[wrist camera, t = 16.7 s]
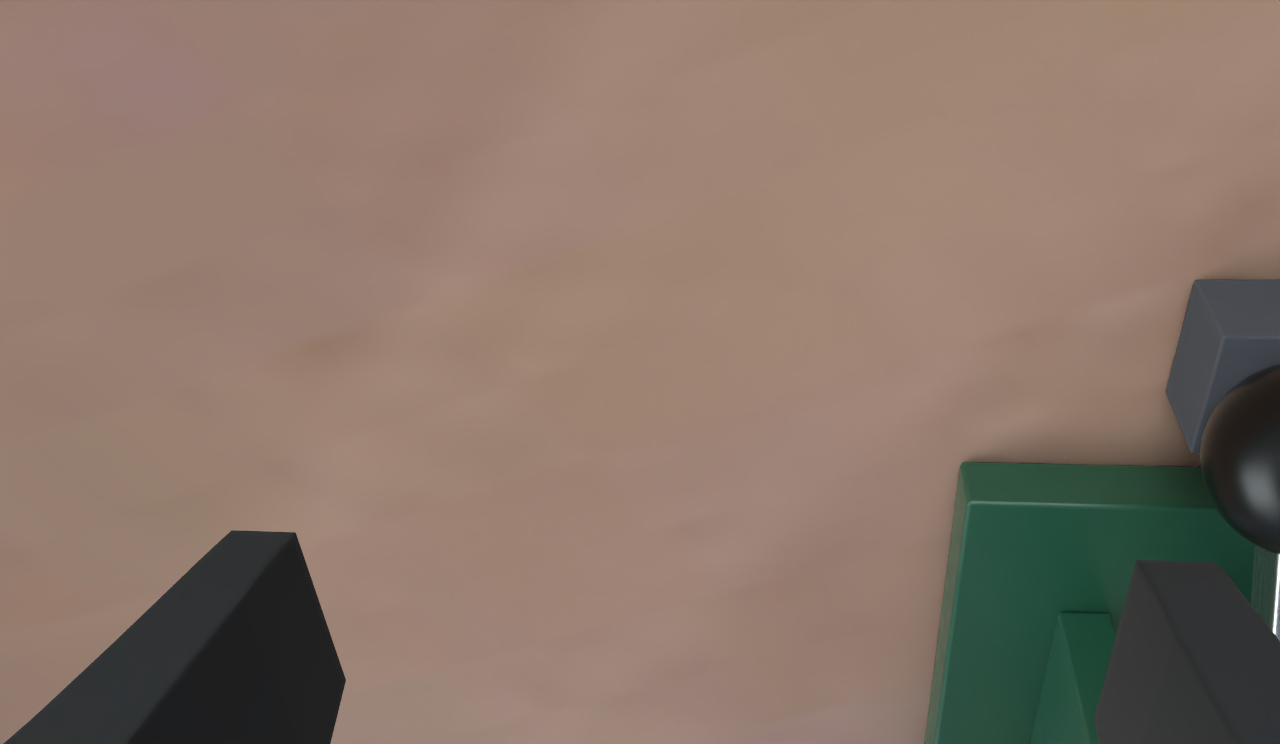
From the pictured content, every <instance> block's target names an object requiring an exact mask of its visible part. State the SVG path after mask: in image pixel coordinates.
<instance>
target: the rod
mask: <svg viewBox="0 0 1280 744" xmlns="http://www.w3.org/2000/svg"><path fill="white" fill-rule="evenodd" d="M1200 468H1201V475H1202V479H1203V482H1204V486H1205V489H1206V491H1207V493H1208V495H1209V497H1210V499H1211V501H1212V503H1213V505H1214V506H1215V508H1216V510H1217V511H1218V513H1219V514H1220V515H1221V516H1222V517H1223V519H1224V520H1225V521H1226V522H1227V523H1228V524H1229V525H1230V526H1231V527H1232V528H1233V529H1234V530H1235V531H1236V532H1238V533H1239V534H1240V535H1241V536H1242V537H1244V538H1245V539H1247V540H1248V541H1250V542H1251V543H1253V544H1255V549H1254V562H1253V576H1252V590H1251V605H1252V606H1253V608H1254V609H1255V610H1256V612H1257V613H1258V614H1259V615H1260V617H1261V618H1262V619H1263V620H1264V622H1265V623H1266V624H1267V625H1268V627H1269V628H1270V629H1271V630H1272V632H1273V633H1274V634H1275V635H1276V637H1277V638H1278V639H1279V640H1280V364H1278V365H1275V366H1271V367H1268V368H1266V369H1263V370H1261V371H1259V372H1256V373H1254V374H1253V375H1251V376H1249V377H1248V378H1246V379H1244V380H1243V381H1241V382H1240V383H1239V384H1237V385H1236V386H1235V387H1233V388H1232V389H1231V390H1230V391H1229V392H1228V393H1227V394H1226V395H1225V396H1224V397H1223V398H1222V399H1221V400H1220V402H1219V403H1218V404H1217V405H1216V407H1215V408H1214V410H1213V412H1212V413H1211V415H1210V417H1209V419H1208V421H1207V424H1206V426H1205V429H1204V432H1203V436H1202V440H1201V447H1200Z"/></svg>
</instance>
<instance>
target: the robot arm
mask: <svg viewBox="0 0 1280 744" xmlns="http://www.w3.org/2000/svg"><path fill="white" fill-rule="evenodd" d="M345 681H346V679H345V676H344V673H343V671H342V668H341V665H340V662H339V659H338V656H337V653H336V650H335V647H334V644H333V641H332V638H331V635H330V632H329V629H328V627H327V624H326V621H325V618H324V615H323V612H322V609H321V606H320V603H319V600H318V597H317V594H316V591H315V588H314V585H313V583H312V580H311V577H310V574H309V571H308V568H307V565H306V562H305V559H304V556H303V553H302V550H301V547H300V544H299V541H298V539H297V536H296V533H291V532H260V531H231V532H230V533H229V534H227V535H226V536H225V537H224V538H223V539H222V540H221V541H220V542H219V543H218V544H216V545H215V546H214V547H213V548H212V549H211V550H210V551H209V552H208V553H207V554H206V555H205V556H204V557H203V558H201V559H200V560H199V561H198V562H197V563H196V564H195V565H194V566H193V567H192V568H191V569H190V570H189V571H188V572H187V573H186V574H185V575H184V576H183V577H182V578H181V579H180V580H178V581H177V582H176V583H175V584H174V585H173V586H172V587H171V588H170V589H169V590H168V591H167V592H166V593H165V594H164V595H163V596H162V597H161V598H160V599H159V600H158V601H157V602H156V603H155V604H154V605H153V606H152V607H151V608H149V609H148V610H147V611H146V612H145V613H144V614H143V615H142V616H141V617H140V618H139V619H138V620H137V621H136V622H135V623H134V624H133V625H132V626H131V627H130V628H129V629H128V630H127V631H125V632H124V633H123V634H122V635H121V636H120V637H119V638H118V639H117V640H116V641H115V642H114V643H113V644H112V645H111V646H110V647H109V648H108V649H107V650H105V651H104V652H103V653H102V654H101V655H100V656H99V657H98V658H97V659H96V660H95V661H94V662H93V663H92V664H90V665H89V666H88V667H87V668H86V669H85V670H84V671H83V672H82V673H81V674H80V675H79V676H78V677H77V678H75V679H74V680H73V681H72V682H71V683H70V684H69V685H68V686H67V687H66V688H65V689H64V690H63V691H62V692H61V693H59V694H58V695H57V696H56V697H55V698H54V699H53V700H52V701H51V702H50V703H49V704H48V705H47V706H45V707H44V708H43V709H42V710H41V711H40V712H39V713H38V714H37V715H36V716H35V717H34V718H32V719H31V720H30V721H29V722H28V723H27V724H26V725H25V726H23V727H22V728H21V729H20V730H19V731H18V732H16V733H15V734H14V735H13V736H12V737H11V738H10V739H8V740H7V741H6V742H5V743H4V744H330V742H331V738H332V734H333V730H334V726H335V722H336V718H337V714H338V710H339V706H340V702H341V698H342V693H343V689H344V685H345ZM1094 718H1095V725H1096V732H1097V739H1098V744H1280V640H1279V639H1278V638H1277V637H1276V635H1275V634H1274V633H1273V632H1272V630H1271V629H1270V628H1269V627H1268V625H1267V624H1266V623H1265V622H1264V620H1263V619H1262V618H1261V617H1260V615H1259V614H1258V613H1257V612H1256V610H1255V609H1254V608H1253V606H1252V605H1251V604H1250V603H1249V601H1248V600H1247V599H1246V598H1245V596H1244V595H1243V594H1242V593H1241V591H1240V590H1239V589H1238V588H1237V586H1236V585H1235V584H1234V583H1233V581H1232V580H1231V579H1230V578H1229V576H1228V575H1227V574H1226V573H1225V572H1224V571H1223V570H1222V569H1221V568H1220V567H1219V566H1218V565H1217V564H1216V562H1188V561H1157V560H1136V563H1135V566H1134V570H1133V574H1132V578H1131V581H1130V585H1129V589H1128V593H1127V596H1126V600H1125V604H1124V608H1123V611H1122V615H1121V619H1120V623H1119V626H1118V630H1117V634H1116V638H1115V641H1114V645H1113V649H1112V653H1111V656H1110V660H1109V664H1108V668H1107V671H1106V675H1105V679H1104V683H1103V686H1102V690H1101V694H1100V698H1099V702H1098V705H1097V709H1096V713H1095V717H1094Z"/></svg>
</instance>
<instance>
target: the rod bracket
mask: <svg viewBox="0 0 1280 744" xmlns="http://www.w3.org/2000/svg"><path fill="white" fill-rule="evenodd" d="M1254 549H1255V544H1253V543H1251V542H1250V541H1248V540H1247V539H1245V538H1244V537H1242V536H1241V535H1240V534H1239V533H1238V532H1236V531H1235V530H1234V529H1233V528H1232V527H1231V526H1230V525H1229V524H1228V523H1227V522H1226V521H1225V520H1224V519H1223V517H1222V516H1221V515H1220V514H1219V513H1218V511H1217V510H1216V508H1215V506H1214V505H1213V503H1212V501H1211V499H1210V497H1209V495H1208V493H1207V491H1206V489H1205V486H1204V482H1203V479H1202V475H1201V468H1200V467H1169V466H1124V465H1079V464H1033V463H988V462H964V463H962V464H961V466H960V471H959V479H958V486H957V494H956V502H955V510H954V517H953V525H952V533H951V541H950V548H949V556H948V564H947V572H946V580H945V587H944V595H943V603H942V611H941V618H940V626H939V634H938V642H937V649H936V657H935V665H934V673H933V680H932V688H931V696H930V704H929V711H928V719H927V727H926V735H925V742H924V744H1098V739H1097V732H1096V725H1095V718H1094V717H1095V713H1096V709H1097V705H1098V702H1099V698H1100V694H1101V690H1102V686H1103V683H1104V679H1105V675H1106V671H1107V668H1108V664H1109V660H1110V656H1111V653H1112V649H1113V645H1114V641H1115V638H1116V634H1117V630H1118V626H1119V623H1120V619H1121V615H1122V611H1123V608H1124V604H1125V600H1126V596H1127V593H1128V589H1129V585H1130V581H1131V578H1132V574H1133V570H1134V566H1135V563H1136V560H1157V561H1188V562H1216V564H1217V565H1218V566H1219V567H1220V568H1221V569H1222V570H1223V571H1224V572H1225V573H1226V574H1227V575H1228V576H1229V578H1230V579H1231V580H1232V581H1233V583H1234V584H1235V585H1236V586H1237V588H1238V589H1239V590H1240V591H1241V593H1242V594H1243V595H1244V596H1245V598H1246V599H1247V600H1248V601H1249V603H1250V604H1251V590H1252V576H1253V562H1254Z"/></svg>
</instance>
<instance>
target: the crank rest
mask: <svg viewBox="0 0 1280 744" xmlns="http://www.w3.org/2000/svg"><path fill="white" fill-rule="evenodd" d="M1278 364H1280V280H1195V281H1194V283H1193V287H1192V291H1191V295H1190V299H1189V303H1188V307H1187V311H1186V315H1185V319H1184V322H1183V326H1182V330H1181V334H1180V338H1179V342H1178V346H1177V350H1176V354H1175V357H1174V361H1173V365H1172V369H1171V373H1170V377H1169V381H1168V385H1167V389H1166V394H1167V396H1168V399H1169V401H1170V404H1171V406H1172V409H1173V411H1174V413H1175V416H1176V418H1177V421H1178V423H1179V426H1180V428H1181V431H1182V433H1183V435H1184V438H1185V440H1186V443H1187V445H1188V448H1189V450H1190V452H1192V453H1200V447H1201V440H1202V436H1203V432H1204V429H1205V426H1206V424H1207V421H1208V419H1209V417H1210V415H1211V413H1212V412H1213V410H1214V408H1215V407H1216V405H1217V404H1218V403H1219V402H1220V400H1221V399H1222V398H1223V397H1224V396H1225V395H1226V394H1227V393H1228V392H1229V391H1230V390H1231V389H1232V388H1233V387H1235V386H1236V385H1237V384H1239V383H1240V382H1241V381H1243V380H1244V379H1246V378H1248V377H1249V376H1251V375H1253V374H1254V373H1256V372H1259V371H1261V370H1263V369H1266V368H1268V367H1271V366H1275V365H1278Z"/></svg>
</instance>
